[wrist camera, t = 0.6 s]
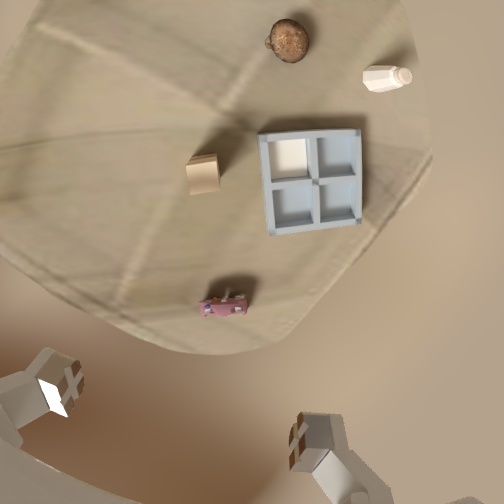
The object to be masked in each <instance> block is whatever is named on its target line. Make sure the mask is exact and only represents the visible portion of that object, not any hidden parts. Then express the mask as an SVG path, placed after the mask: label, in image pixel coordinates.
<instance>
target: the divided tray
mask: <svg viewBox="0 0 504 504" xmlns="http://www.w3.org/2000/svg"><path fill="white" fill-rule="evenodd" d="M257 141H258V150H259V160H260V170H261V179H262V189H263V199H264V210H265V220H266V229H267V232H268V234H269V236H273V235H280V234H287V233H295V232H302V231H310V230H318V229H325V228H333V227H341V226H349V225H357V224H361V216H362V148H361V129H355V128H335V129H312V130H296V131H283V132H271V133H261V134H257Z"/></svg>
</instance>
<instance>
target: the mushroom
mask: <svg viewBox="0 0 504 504" xmlns="http://www.w3.org/2000/svg"><path fill="white" fill-rule="evenodd" d="M265 45H266V47H267V48H268V49H271V48H272V50H273V51H274V53H275V54H276V56H277V57H278V58H280V59H281V60H282V61H284V62H287V63H296V62H298V61H300V60H302V59H303V58H304V56H305V55H306V53H307V51H308V46H309V39H308V34H307V32H306V31H305V29H304V27H303V26H302V25H300V24H299V23H298V22H296V21H294V20H291V19H282V20H279V21H278V22H276V23H275V24H274V25H273V27H272V30H271V33H270V35H269V36H268V38H267V39H266V41H265Z"/></svg>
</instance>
